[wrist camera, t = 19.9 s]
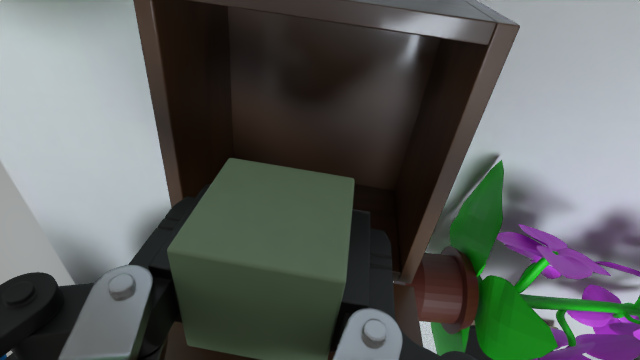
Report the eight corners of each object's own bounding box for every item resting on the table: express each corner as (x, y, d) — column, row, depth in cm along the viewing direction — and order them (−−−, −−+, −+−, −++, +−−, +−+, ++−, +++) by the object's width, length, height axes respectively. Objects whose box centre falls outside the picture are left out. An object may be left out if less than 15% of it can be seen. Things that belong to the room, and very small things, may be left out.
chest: (217, -42, 17) (126, -33, 11) (466, -7, 17) (521, 25, 10) (228, 164, 24) (177, 241, 18) (401, 194, 24) (411, 284, 18)
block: (228, 156, 11) (164, 249, 7) (355, 177, 11) (346, 282, 7) (233, 245, 13) (186, 346, 10) (337, 264, 13) (324, 373, 10)
